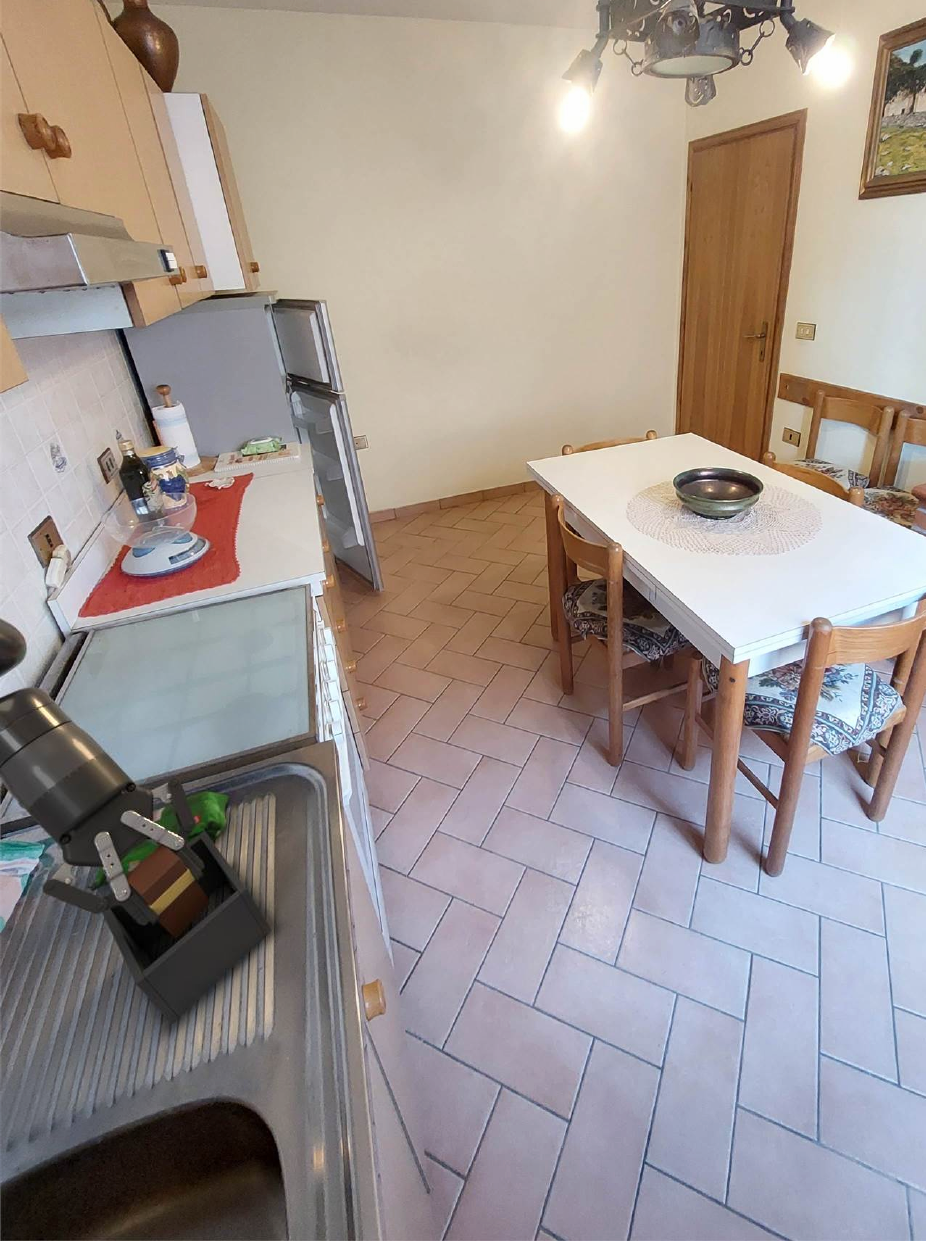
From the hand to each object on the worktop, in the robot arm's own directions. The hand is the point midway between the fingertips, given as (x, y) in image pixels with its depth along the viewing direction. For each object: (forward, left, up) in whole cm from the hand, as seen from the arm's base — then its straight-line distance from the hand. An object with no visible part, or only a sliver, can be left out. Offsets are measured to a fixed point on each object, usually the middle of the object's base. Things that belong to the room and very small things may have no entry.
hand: (178, 899), depth 60 cm
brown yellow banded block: (0, +2, -4) cm, 5 cm away
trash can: (0, +2, -11) cm, 12 cm away
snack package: (+1, +18, -12) cm, 22 cm away
